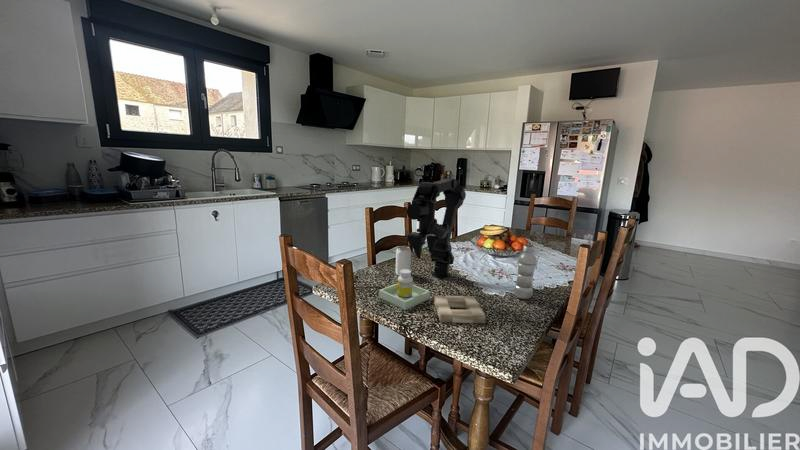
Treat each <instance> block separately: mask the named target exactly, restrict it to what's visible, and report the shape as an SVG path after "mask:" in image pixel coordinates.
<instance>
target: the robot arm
mask: <svg viewBox="0 0 800 450" xmlns="http://www.w3.org/2000/svg"><path fill="white" fill-rule="evenodd" d="M441 193H443V195H444V203H445V206H446V208H445V212H444V215H443V220H442V224H439V223H438V219H437V218H435V216H436V215H435V214H436V204H438V200H437V198H438V197H439V196H440V195H441ZM466 196H467V193H466V190H465V188H464V186H463V185H461V184H460V183H459V182H458V180H457V179H456V178H450V177H445V178H443V179H441V180H437V181H434V182H427V181H426V182H425V181H421V182H419V184H418V186H417V188H416V190H415V193H414V195H413V198H412V200H411V203H410V204H409V205H408V206H407V208H406V216H407V217H408V218H409V219H410V220H413V221H415V220H416V221H417V222H418V228H416V231H412V232H410V233H408V234H407V235H406V241H407V242H408V243H409V244H410V246H411V247H412V249H413V252H414V254H415V256H416V258H417V259H418V260H419V259H420V260H421V256H422V250H423V247H424V245H425V244H427V249H428V253H429V254H430V258H431V259H430V260H431V262H434V268H433V269H434V271H433V272H432V273H431V275H432V276H433V277H437V278H440V279H442V280H443V279H446V278H449V277H451V276H452V274H451V273H450V272H449V271H450V265H453V264H454V260H455V257H454V254H453V252H452V250H453V247H452V244H451V237H452V233H453V229H454V226H455V222H456V217H457V212H458V210H459V209H460V207H462V206H463V204H464V201H465V200H466Z"/></svg>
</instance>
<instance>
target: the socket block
mask: <svg viewBox="0 0 800 450" xmlns="http://www.w3.org/2000/svg"><path fill="white" fill-rule="evenodd" d="M433 297H434V298H433V303H434V306H435V310H436V312H437V315H438V319H439V322H440V323H451V324H452V323H453V324H454V323H456V324H457V323H459V324H460V323H461V324H462V323H465V324H466V323H468V324H469V323H470V324H485V322H486V314H485V313H484V310H483V309H482V307H481V306H480V304H479V302H478V301H477V300H476V297H475V296H473V295H471V296H470V295H434V296H433ZM451 308H452V309H451ZM453 308H455V309H453ZM456 308H458V309H456ZM459 308H462V309H459ZM463 308H464V309H463Z"/></svg>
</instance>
